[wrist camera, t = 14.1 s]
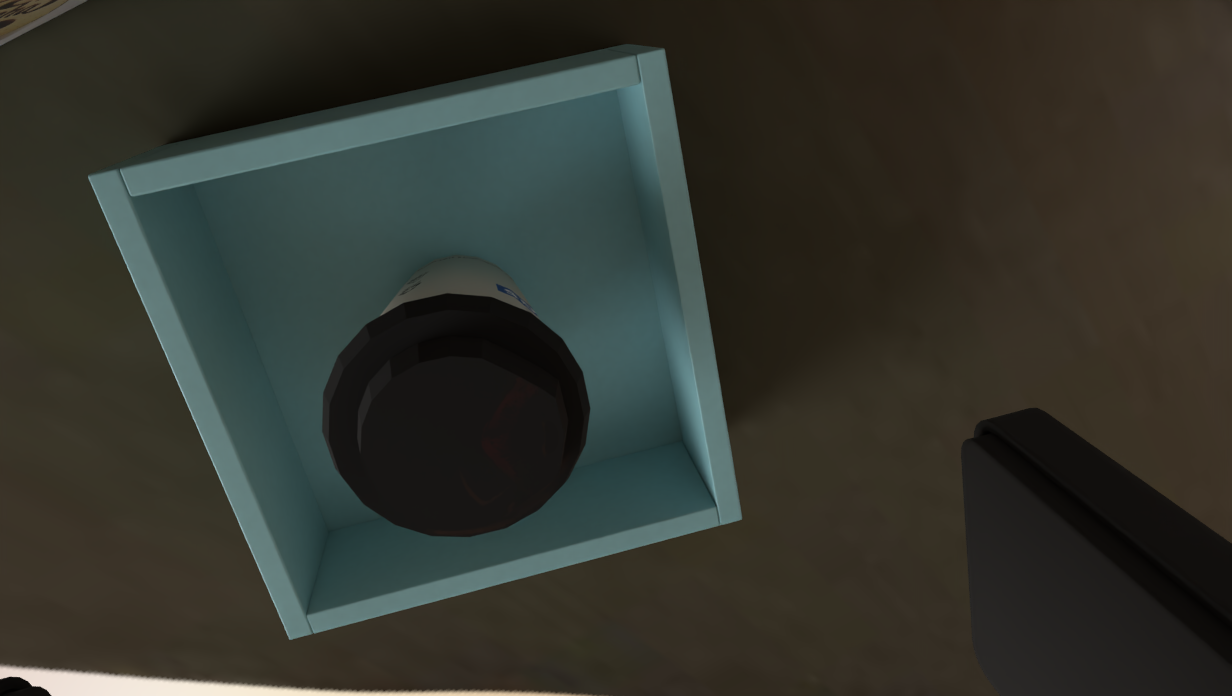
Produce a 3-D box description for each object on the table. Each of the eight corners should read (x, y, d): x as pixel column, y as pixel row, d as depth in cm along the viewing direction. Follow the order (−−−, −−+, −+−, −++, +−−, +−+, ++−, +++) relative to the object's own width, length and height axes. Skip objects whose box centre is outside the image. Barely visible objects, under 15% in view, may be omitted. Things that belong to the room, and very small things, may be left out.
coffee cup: (373, 414, 31) (332, 580, 22) (347, 226, 28) (289, 322, 19) (563, 398, 32) (602, 550, 23) (554, 215, 29) (594, 301, 20)
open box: (628, 43, 29) (664, 47, 23) (700, 443, 35) (743, 520, 29) (160, 145, 27) (86, 175, 22) (318, 541, 33) (289, 640, 28)
